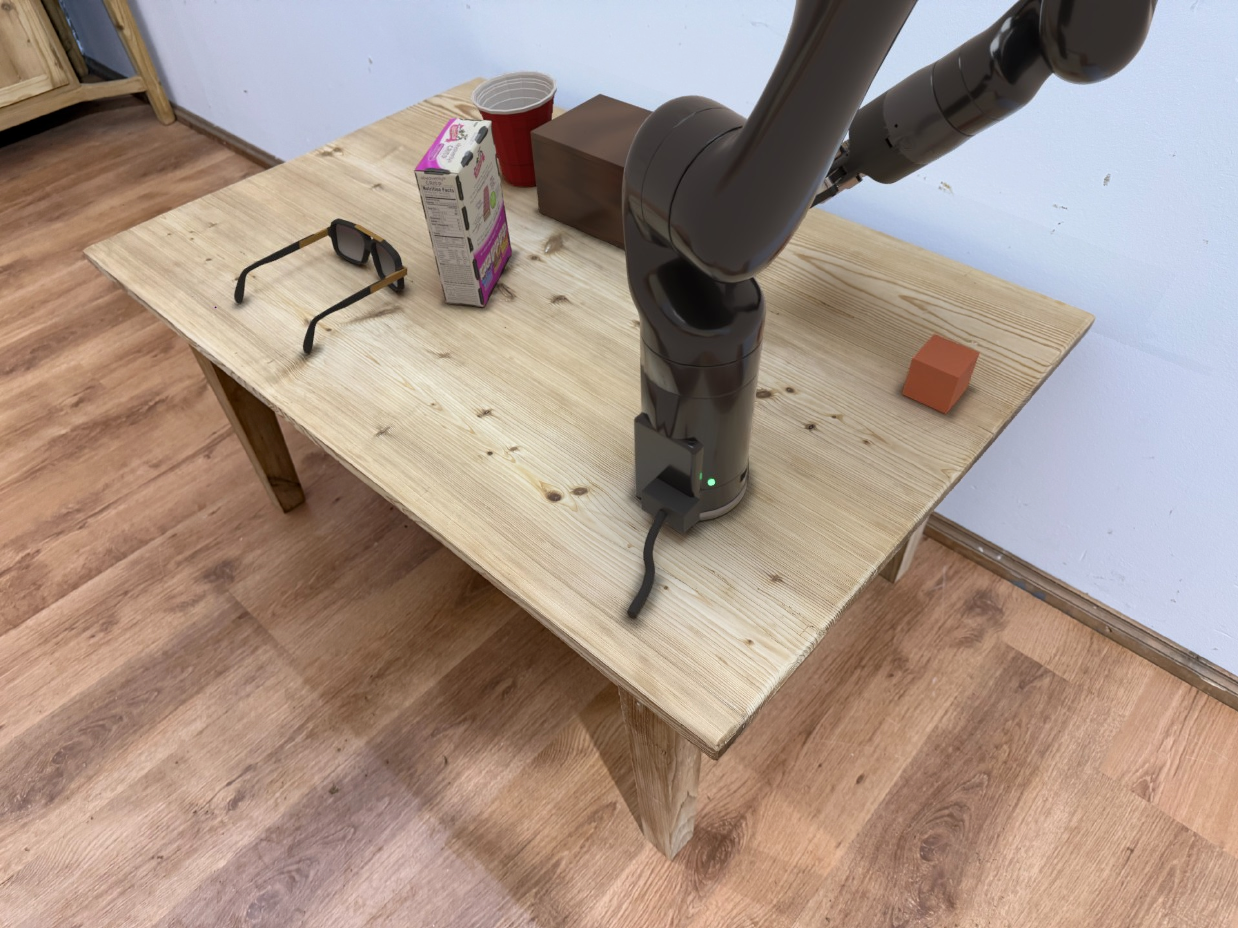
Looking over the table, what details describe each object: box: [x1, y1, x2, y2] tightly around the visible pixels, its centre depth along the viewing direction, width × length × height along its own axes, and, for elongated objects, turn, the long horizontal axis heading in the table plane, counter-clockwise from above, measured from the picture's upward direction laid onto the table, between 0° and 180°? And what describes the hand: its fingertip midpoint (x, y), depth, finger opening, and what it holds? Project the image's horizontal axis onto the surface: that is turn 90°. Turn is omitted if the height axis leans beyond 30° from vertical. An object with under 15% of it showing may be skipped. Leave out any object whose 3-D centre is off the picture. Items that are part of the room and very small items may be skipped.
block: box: [901, 333, 981, 415], centre depth 81 cm, size 5×5×5 cm
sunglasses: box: [233, 218, 408, 355], centre depth 94 cm, size 14×15×5 cm
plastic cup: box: [471, 70, 558, 188], centre depth 109 cm, size 11×11×12 cm
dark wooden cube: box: [531, 93, 653, 251], centre depth 103 cm, size 15×13×11 cm
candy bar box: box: [413, 117, 513, 308], centre depth 92 cm, size 11×5×16 cm, turn 168°
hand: (789, 199), depth 89 cm, fingers open, 8 cm apart
